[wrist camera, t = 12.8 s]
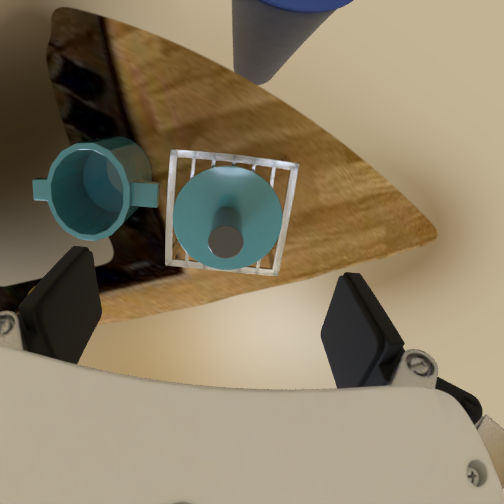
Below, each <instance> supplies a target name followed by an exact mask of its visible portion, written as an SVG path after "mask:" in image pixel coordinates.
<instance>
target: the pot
mask: <svg viewBox="0 0 504 504" xmlns="http://www.w3.org/2000/svg"><path fill="white" fill-rule="evenodd" d="M33 193H34V194H33V195H34V200H47V201H48V204H49V206H50V209H51V212H52V214H53V217H54V218H55V220H56V221H57V222H58V223H59V225H60V226H61V227H62V228H63V229H64V230H65V231H66V232H68V233H70V234H71V235H73V236H75V237H77V238H78V239H82V240H92V241H97V240H100V239H103V238H105V237H108V236H110V235H112V234H113V233H114V232H115V231H116V230H117V229H118V228H119V227H120V226H121V225H122V224H123V223H124V222H125V221H126V220H127V219H128V218H129V217H130V216H131V215H132V214H133V213H134V212H135V211H136V210H137V209H138V208H139V207H140V206H143V207H155V208H157V207H158V206H159V197H160V182H152V169H151V165H150V162H149V159H148V157H147V155H146V153H145V152H144V151H143V149H142V148H141V147H140V146H139V145H138V144H136V143H135V142H133V141H132V140H130V139H127V138H124V137H104V138H99V139H94V140H89V141H84V142H80V143H76V144H74V145H72V146H70V147H68V148H67V149H65V150H63V151H62V152H61V153H60V154H59V156H58V157H57V158H56V160H55V161H54V162H53V164H52V165H51V168H50V171H49V175H48V178H36V179H34V180H33Z"/></svg>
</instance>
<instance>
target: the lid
mask: <svg viewBox="0 0 504 504" xmlns="http://www.w3.org/2000/svg"><path fill="white" fill-rule="evenodd" d="M173 227H174V231H175V234H176V237H177V239H178V241H179V243H180V244H181V246H182V248H183V249H184V250H185V251H186V252H187V253H188V254H189V255H190V256H191V257H192V258H194V259H195V260H196V261H198V262H200V263H201V264H203V265H206V266H208V267H212V268H215V269H221V270H233V269H240V268H244V267H247V266H249V265H252V264H254V263H256V262H257V261H259V260H260V259H262V258H263V257H264V256H266V254H267V253H268V252H269V251H270V250H271V249H272V248H273V246H274V245H275V243H276V241H277V240H278V237H279V235H280V231H281V228H282V209H281V205H280V201H279V199H278V197H277V195H276V193H275V191H274V190H273V188H272V187H271V185H270V184H269V183H268V182H267V181H266V180H265V179H264V178H262V177H261V176H260V175H258V174H257V173H255V172H253V171H251V170H249V169H246V168H243V167H239V166H231V165H224V166H216V167H212V168H209V169H206V170H204V171H202V172H200V173H198V174H197V175H195V176H194V177H192V178H191V179H190V180H189V181H188V182H187V183H186V184H185V186H184V187H183V188H182V189H181V191H180V193H179V194H178V196H177V199H176V201H175V204H174V208H173Z"/></svg>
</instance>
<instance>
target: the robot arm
mask: <svg viewBox="0 0 504 504" xmlns="http://www.w3.org/2000/svg"><path fill="white" fill-rule="evenodd" d="M18 308H19V311H20V313H19V314H18V315H16V314H15V313H14V312H11V311H1V312H0V504H504V492H503V488H504V429H503V428H501V427H500V426H499V425H498V424H497V423H496V422H495V421H493V420H492V419H491V418H490V417H489V416H487V415H485V416H484V417H483V416H482V407H481V404H480V403H479V401H478V399H477V398H476V397H475V396H473V395H472V394H470V393H468V392H466V391H464V390H462V389H460V388H458V387H456V386H454V385H452V384H451V383H448V382H447V381H445V380H443V379H441V378H439V377H437V375H438V366H437V363H436V362H435V360H434V359H433V358H432V357H431V356H430V355H429V354H427V353H425V352H424V351H421V350H417V349H410V350H407V351H405V350H404V348H403V345H404V341H403V340H402V338H401V336H400V335H399V333H398V331H397V330H396V328H395V327H394V325H393V324H392V322H391V320H390V319H389V317H388V315H387V314H386V312H385V311H384V309H383V307H382V306H381V305H380V303H379V301H378V300H377V298H376V297H375V295H374V294H373V292H372V291H371V289H370V288H369V286H368V285H367V283H366V282H365V280H364V279H363V277H362V276H361V274H360V273H349V272H346V273H344V275H343V276H340V277H339V279H338V282H337V285H336V288H335V291H334V294H333V297H332V300H331V303H330V306H329V309H328V312H327V315H326V318H325V321H324V324H323V326H322V330H321V339H322V342H323V345H324V348H325V351H326V354H327V357H328V361H329V363H330V366H331V370H332V373H333V376H334V379H335V382H336V386H337V389H311V390H270V389H243V388H226V387H213V386H201V385H192V384H183V383H175V382H167V381H160V380H153V379H147V378H141V377H135V376H129V375H123V374H118V373H113V372H108V371H103V370H98V369H94V368H90V367H86V366H81V365H77V363H78V361H79V359H80V357H81V355H82V353H83V350H84V349H85V347H86V345H87V343H88V341H89V339H90V337H91V335H92V333H93V331H94V329H95V327H96V326H97V324H98V322H99V320H100V318H101V315H102V307H101V302H100V297H99V291H98V285H97V279H96V273H95V266H94V258H93V254H92V252H90V251H89V249H88V248H87V247H80V246H73V247H72V248H71V249H70V250H69V251H68V252H67V253H66V254H65V255H64V256H63V257H62V258H61V259H60V260H59V261H58V262H57V263H56V265H55V266H54V267H53V268H52V269H51V270H50V271H49V272H48V273H47V274H46V275H45V276H44V277H43V279H42V280H41V281H40V282H39V283H38V284H37V285H36V286H35V287H34V289H33V290H32V291H31V292H30V293H29V294H28V296H27V297H26V298H25V299H24V300H23V301H22V303H21V304H20V305H19V306H18Z"/></svg>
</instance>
